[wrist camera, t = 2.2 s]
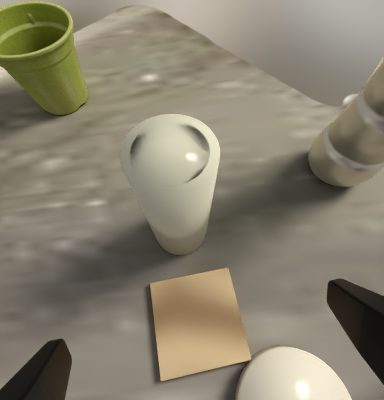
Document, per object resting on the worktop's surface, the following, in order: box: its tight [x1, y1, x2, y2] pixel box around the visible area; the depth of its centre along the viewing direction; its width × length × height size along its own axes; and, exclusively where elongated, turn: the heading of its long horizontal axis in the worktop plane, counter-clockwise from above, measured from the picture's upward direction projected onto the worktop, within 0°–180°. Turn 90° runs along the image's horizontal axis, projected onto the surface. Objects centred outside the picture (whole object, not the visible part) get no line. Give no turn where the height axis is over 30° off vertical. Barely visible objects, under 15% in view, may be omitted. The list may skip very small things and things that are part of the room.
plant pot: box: [0, 1, 88, 115], centre depth 27 cm, size 9×9×9 cm
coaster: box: [150, 268, 252, 381], centre depth 19 cm, size 7×7×1 cm
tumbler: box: [120, 114, 220, 255], centre depth 17 cm, size 5×5×12 cm
